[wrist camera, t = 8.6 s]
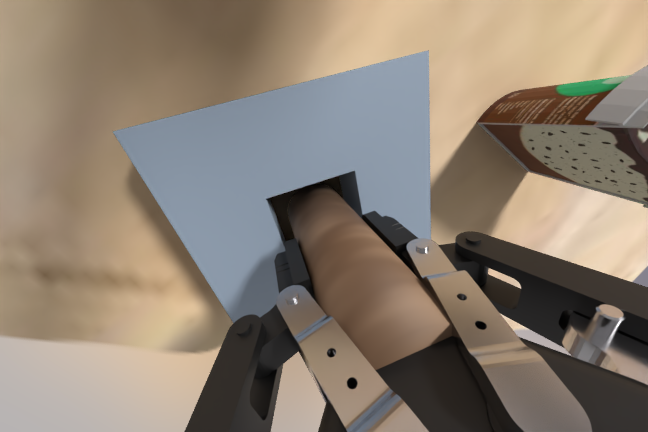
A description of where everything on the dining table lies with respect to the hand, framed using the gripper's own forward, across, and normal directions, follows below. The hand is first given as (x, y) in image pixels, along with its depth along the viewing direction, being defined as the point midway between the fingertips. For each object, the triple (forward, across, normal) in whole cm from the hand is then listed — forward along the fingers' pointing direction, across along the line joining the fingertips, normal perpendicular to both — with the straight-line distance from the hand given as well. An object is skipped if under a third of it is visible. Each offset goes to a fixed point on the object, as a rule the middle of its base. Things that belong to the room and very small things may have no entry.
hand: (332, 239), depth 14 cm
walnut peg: (+4, 0, 0) cm, 4 cm away
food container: (+6, -21, -1) cm, 22 cm away
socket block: (+6, 0, 0) cm, 6 cm away
